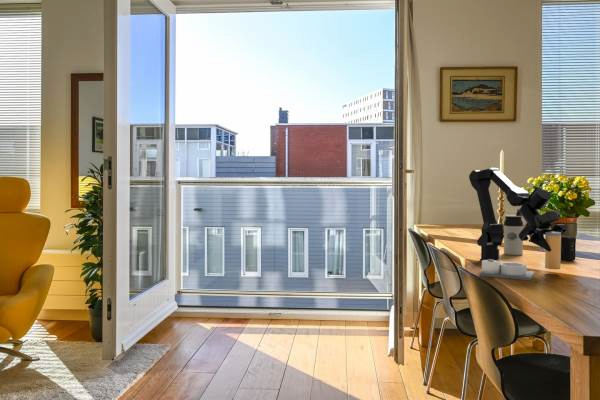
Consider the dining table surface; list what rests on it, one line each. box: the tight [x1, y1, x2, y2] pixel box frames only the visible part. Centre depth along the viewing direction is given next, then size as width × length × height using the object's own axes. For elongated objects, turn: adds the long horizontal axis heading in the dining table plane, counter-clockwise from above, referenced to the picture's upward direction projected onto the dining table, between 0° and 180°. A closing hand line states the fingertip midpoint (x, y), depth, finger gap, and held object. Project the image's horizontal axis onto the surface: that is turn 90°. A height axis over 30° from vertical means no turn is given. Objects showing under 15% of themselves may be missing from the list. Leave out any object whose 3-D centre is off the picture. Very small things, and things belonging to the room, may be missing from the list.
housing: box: [479, 259, 535, 281], centre depth 181 cm, size 16×12×6 cm
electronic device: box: [561, 235, 577, 262], centre depth 213 cm, size 4×10×10 cm, turn 28°
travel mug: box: [503, 214, 524, 256], centre depth 229 cm, size 8×8×18 cm
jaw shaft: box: [544, 232, 562, 270], centre depth 182 cm, size 5×5×13 cm
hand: (556, 250), depth 180 cm, fingers closed on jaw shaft, 5 cm apart
